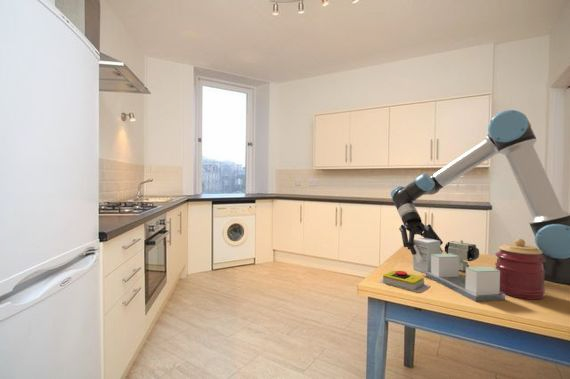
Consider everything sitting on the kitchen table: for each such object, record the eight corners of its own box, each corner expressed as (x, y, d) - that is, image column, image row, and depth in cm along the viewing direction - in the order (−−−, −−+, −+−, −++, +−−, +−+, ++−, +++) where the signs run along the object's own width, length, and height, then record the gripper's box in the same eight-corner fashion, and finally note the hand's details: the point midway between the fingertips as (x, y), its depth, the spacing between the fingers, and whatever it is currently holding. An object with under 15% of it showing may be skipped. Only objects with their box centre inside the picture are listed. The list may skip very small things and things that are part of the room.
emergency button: (390, 266, 115) (431, 274, 104) (390, 277, 115) (431, 287, 104) (378, 271, 108) (420, 280, 98) (377, 283, 109) (420, 294, 98)
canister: (496, 283, 108) (497, 233, 107) (544, 291, 100) (545, 238, 99) (492, 293, 98) (493, 239, 97) (545, 303, 90) (547, 244, 89)
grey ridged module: (425, 267, 127) (425, 237, 127) (440, 272, 121) (441, 240, 120) (412, 269, 124) (412, 238, 124) (427, 274, 117) (428, 242, 117)
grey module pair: (430, 273, 114) (431, 254, 114) (450, 272, 115) (450, 253, 115) (476, 295, 92) (476, 271, 92) (499, 294, 93) (500, 270, 93)
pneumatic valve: (450, 265, 130) (450, 237, 130) (479, 272, 120) (479, 242, 120) (442, 267, 128) (443, 238, 127) (471, 274, 118) (472, 243, 117)
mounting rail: (426, 276, 115) (426, 271, 115) (450, 275, 116) (450, 270, 116) (475, 301, 91) (475, 295, 91) (504, 299, 92) (505, 293, 92)
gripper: (428, 220, 139) (451, 264, 123) (383, 221, 135) (402, 266, 120) (435, 210, 133) (461, 255, 118) (389, 210, 130) (409, 256, 115)
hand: (431, 260), depth 119 cm, fingers open, 9 cm apart
